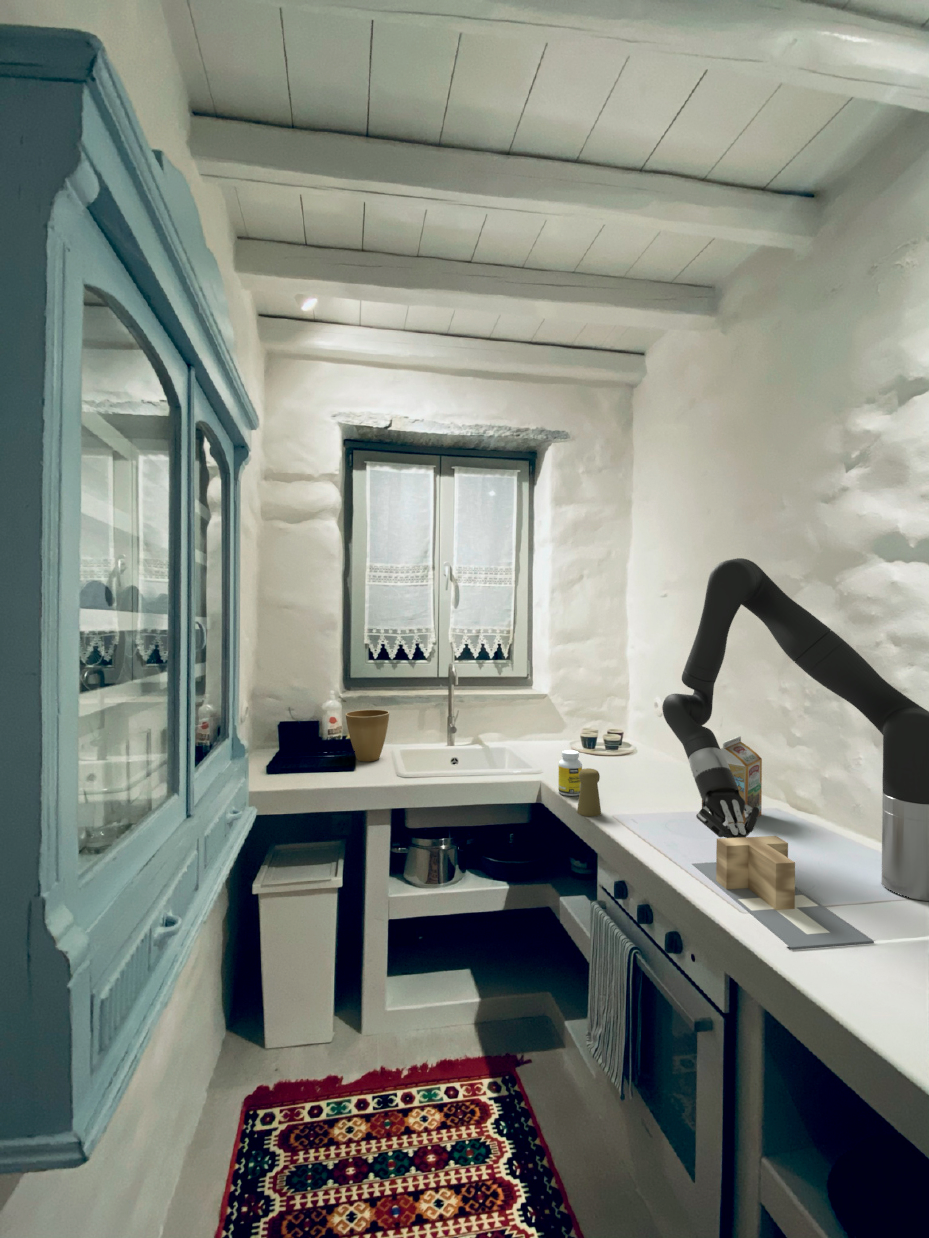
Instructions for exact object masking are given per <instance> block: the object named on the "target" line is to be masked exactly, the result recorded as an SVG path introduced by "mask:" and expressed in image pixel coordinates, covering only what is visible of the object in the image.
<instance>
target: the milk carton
mask: <svg viewBox="0 0 929 1238" xmlns="http://www.w3.org/2000/svg"><path fill="white" fill-rule="evenodd" d="M720 749H721V752H722V754H723V755H724V757H725V758H726V760H727V763H728V765H729V767H730V770H731V772H732V774H733V777H734V779H735V781H736V784H737V786H738V789H739V794H740V796H741V797H742V798H743V799H744V801H745V804H746V805H748V806H750V807H752V808H754V807H757V808H758V809H759V814H758V817H760V816H761V815H762V801H763V800H762V799H763V798H762V793H763V792H762V789H763V782H762V781H763V778H762V777H763V775H762V774H763V772H762V771H763V770H762V769H763V767H762V766H763V759H762V757H761V756H760V755H759V754H758V753H757V752H756V751H755V750H753V749H752V748H751V747H750V746H748V745H746V744H745V743H744V742H743V741H742V737H741V736H739V735H738V736H736V737H733V738H731V739H728V740H726V741H723V742H722V747H720ZM703 808H704V807H703V800H702V799H701V809H703ZM742 818H743V825H744V824H745V821H746V817H745V812H743V815H742Z"/></svg>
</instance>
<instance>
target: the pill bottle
mask: <svg viewBox="0 0 929 1238" xmlns="http://www.w3.org/2000/svg"><path fill="white" fill-rule="evenodd" d="M561 757H562V759H560V760H559V762H558V792H559V793H560V794H561V795H563V796H568V797H576V796H579V794H580V787H581V781H580V780H579V772H580V771H581V770H582V769H583V763H582V762H581V760H579V758H580V752H579V751H578V750H574V749H566V750H562V751H561Z"/></svg>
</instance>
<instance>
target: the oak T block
mask: <svg viewBox="0 0 929 1238" xmlns="http://www.w3.org/2000/svg"><path fill="white" fill-rule="evenodd" d="M715 855H716V856H715V857H716V858H715V859H716V860H715V862H716V881H717V882H718V883H720V884H721V885H722V886H723V887H724V888H725V889H741V888H749V889H750V890H751V891H752V892H754V893H755V894H756V895H757V896H759V897H760V898H761V899H762V900H764V901H765V902H766V903H767V904H769V905H770V906H771V907H772V908H774V909H775V910H783V909H795V887H796V862H795V861H794V860H792V859H790V858H789V842H787V841H786V840H783V839H782V838H781V837H779V836H777V835H768V836H767V835H764V836H746V837H741V838H725V837H718V838H716V854H715Z"/></svg>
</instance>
